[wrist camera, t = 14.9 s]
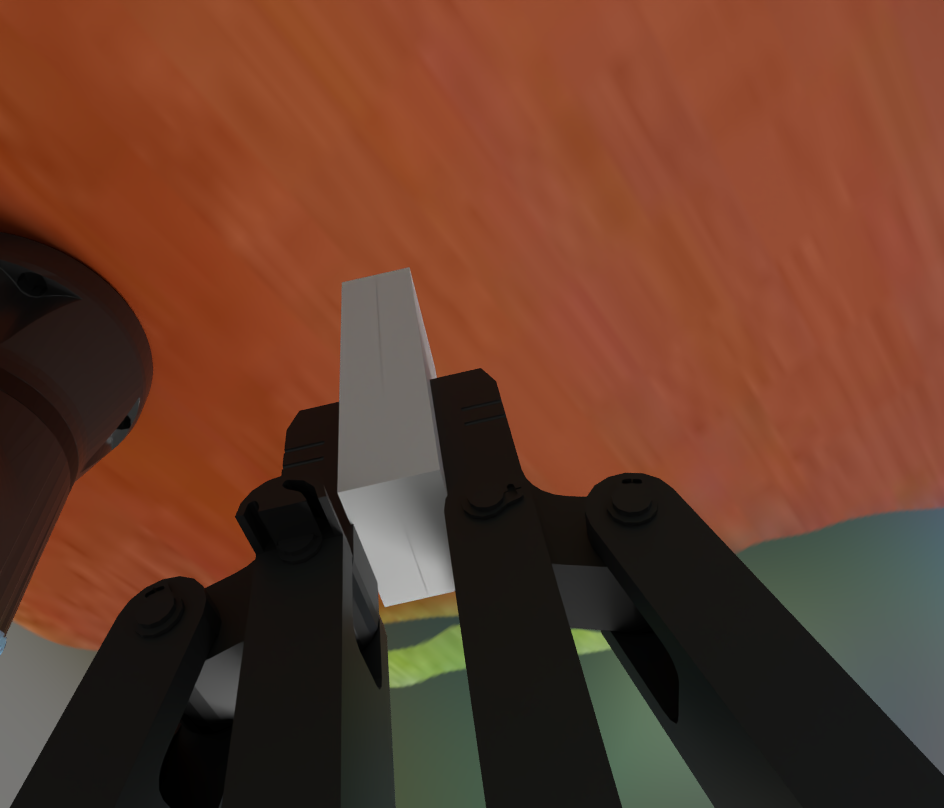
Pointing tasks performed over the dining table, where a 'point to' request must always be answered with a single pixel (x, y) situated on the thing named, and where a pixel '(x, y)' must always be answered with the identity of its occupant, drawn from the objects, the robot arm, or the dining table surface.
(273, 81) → the dining table surface
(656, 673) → the robot arm
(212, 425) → the dining table surface
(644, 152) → the dining table surface
